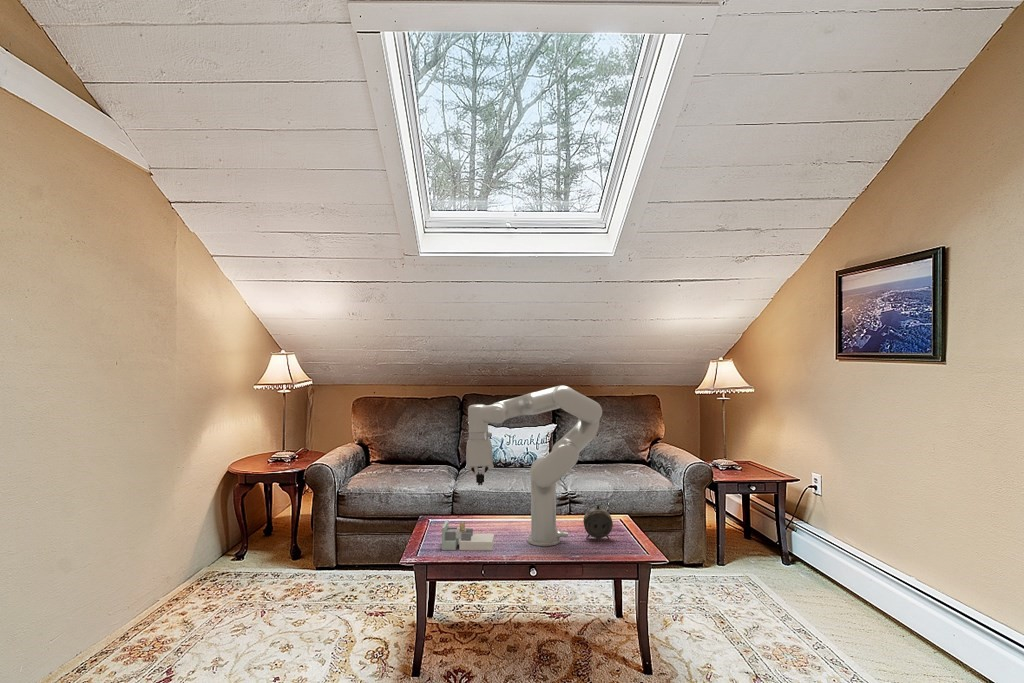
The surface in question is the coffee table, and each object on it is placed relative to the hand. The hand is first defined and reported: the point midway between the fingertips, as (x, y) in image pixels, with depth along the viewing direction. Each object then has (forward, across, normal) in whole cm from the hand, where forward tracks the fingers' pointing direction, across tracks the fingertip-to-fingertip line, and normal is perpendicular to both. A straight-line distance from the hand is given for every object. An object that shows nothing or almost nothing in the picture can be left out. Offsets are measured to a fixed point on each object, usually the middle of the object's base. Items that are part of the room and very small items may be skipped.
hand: (480, 484), depth 215 cm
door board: (+22, +2, +5) cm, 22 cm away
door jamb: (+21, +12, +5) cm, 25 cm away
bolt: (+18, +9, +5) cm, 21 cm away
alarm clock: (+23, -45, -1) cm, 50 cm away
